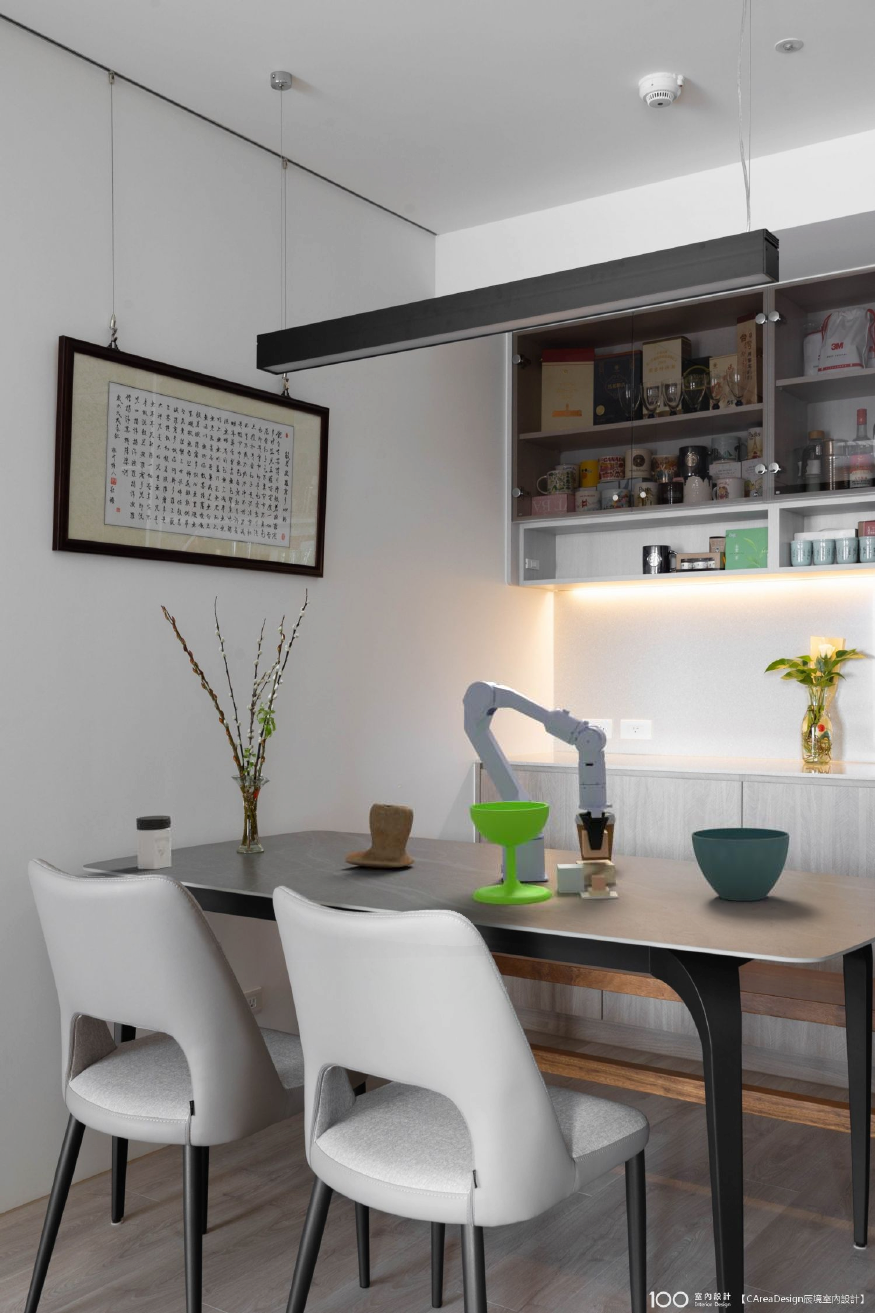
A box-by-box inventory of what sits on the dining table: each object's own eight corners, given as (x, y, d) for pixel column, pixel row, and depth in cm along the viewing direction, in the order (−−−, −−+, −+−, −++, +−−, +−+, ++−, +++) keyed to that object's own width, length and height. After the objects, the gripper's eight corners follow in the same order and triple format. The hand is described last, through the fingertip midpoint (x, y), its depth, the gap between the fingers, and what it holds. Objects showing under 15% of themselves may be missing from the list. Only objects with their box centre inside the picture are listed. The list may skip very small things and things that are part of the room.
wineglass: (503, 886, 239) (500, 800, 239) (568, 893, 229) (565, 803, 229) (455, 899, 226) (452, 808, 227) (521, 907, 216) (518, 812, 216)
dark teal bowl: (675, 893, 225) (673, 831, 225) (752, 885, 231) (750, 824, 232) (730, 910, 208) (727, 842, 208) (812, 900, 214) (809, 835, 215)
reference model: (582, 899, 222) (581, 879, 222) (580, 894, 227) (579, 874, 227) (618, 898, 222) (617, 878, 222) (615, 893, 227) (614, 873, 227)
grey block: (559, 893, 230) (558, 868, 230) (557, 888, 235) (556, 864, 235) (584, 892, 229) (583, 867, 229) (582, 888, 234) (581, 863, 234)
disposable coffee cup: (605, 871, 253) (603, 816, 253) (567, 868, 259) (566, 814, 259) (625, 864, 260) (623, 812, 261) (588, 861, 266) (587, 810, 266)
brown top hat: (425, 864, 270) (423, 800, 270) (399, 872, 260) (396, 806, 260) (371, 861, 277) (369, 799, 278) (343, 869, 267) (341, 804, 267)
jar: (146, 871, 273) (145, 820, 273) (129, 867, 279) (128, 818, 279) (179, 865, 279) (178, 816, 279) (162, 862, 285) (161, 814, 285)
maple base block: (582, 885, 238) (581, 866, 238) (576, 879, 245) (575, 861, 245) (615, 884, 238) (615, 865, 238) (608, 878, 245) (607, 859, 245)
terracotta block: (584, 857, 239) (583, 833, 240) (582, 853, 244) (581, 830, 244) (608, 857, 239) (607, 833, 239) (606, 853, 244) (605, 829, 244)
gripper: (615, 786, 235) (617, 852, 234) (607, 780, 249) (609, 842, 249) (580, 787, 235) (583, 853, 235) (575, 780, 249) (577, 843, 249)
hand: (594, 848), depth 242 cm, fingers closed on terracotta block, 5 cm apart
